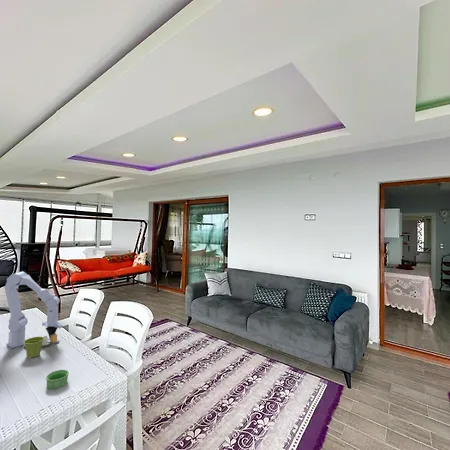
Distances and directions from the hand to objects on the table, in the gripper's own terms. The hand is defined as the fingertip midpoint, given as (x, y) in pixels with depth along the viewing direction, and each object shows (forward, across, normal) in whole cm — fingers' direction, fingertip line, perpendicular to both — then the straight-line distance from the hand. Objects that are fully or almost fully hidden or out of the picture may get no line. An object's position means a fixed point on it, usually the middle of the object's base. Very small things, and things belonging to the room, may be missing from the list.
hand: (51, 338), depth 166 cm
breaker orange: (+1, +3, -1) cm, 3 cm away
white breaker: (+1, +1, -6) cm, 6 cm away
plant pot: (+3, +6, -16) cm, 17 cm away
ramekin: (+3, +43, -32) cm, 54 cm away
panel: (+3, -2, -5) cm, 6 cm away
